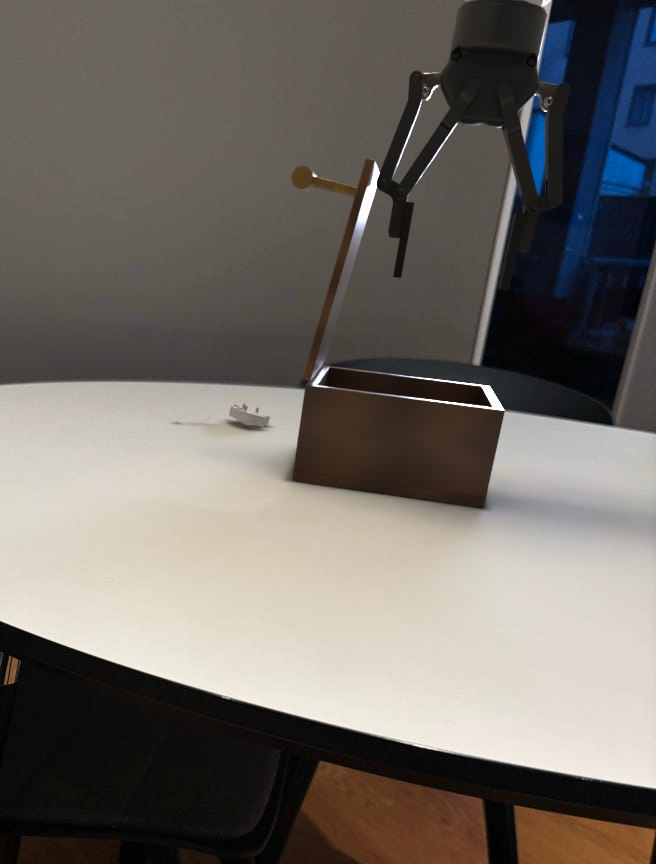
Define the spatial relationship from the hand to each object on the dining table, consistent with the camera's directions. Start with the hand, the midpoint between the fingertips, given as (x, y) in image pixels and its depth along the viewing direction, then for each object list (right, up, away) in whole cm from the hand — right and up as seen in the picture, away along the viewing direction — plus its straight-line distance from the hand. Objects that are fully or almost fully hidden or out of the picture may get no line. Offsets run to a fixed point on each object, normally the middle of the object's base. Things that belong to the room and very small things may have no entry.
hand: (449, 283), depth 95 cm
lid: (-9, +2, +3) cm, 10 cm away
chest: (-4, -17, +9) cm, 19 cm away
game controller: (-20, -8, +27) cm, 34 cm away
